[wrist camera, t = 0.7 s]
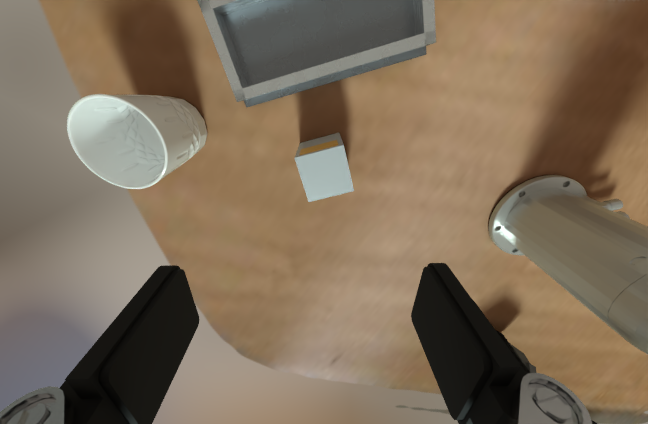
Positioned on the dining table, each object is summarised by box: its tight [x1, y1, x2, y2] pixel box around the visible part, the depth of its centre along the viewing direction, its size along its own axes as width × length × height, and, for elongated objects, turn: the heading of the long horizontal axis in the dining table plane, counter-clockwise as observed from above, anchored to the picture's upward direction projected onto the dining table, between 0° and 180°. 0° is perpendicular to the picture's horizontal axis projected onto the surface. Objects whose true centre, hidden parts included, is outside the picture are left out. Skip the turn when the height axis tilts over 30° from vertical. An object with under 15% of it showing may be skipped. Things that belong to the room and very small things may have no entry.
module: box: [295, 133, 354, 202], centre depth 28 cm, size 5×5×7 cm
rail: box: [198, 0, 436, 107], centre depth 24 cm, size 20×10×4 cm, turn 105°
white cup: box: [67, 94, 207, 189], centre depth 25 cm, size 8×8×10 cm
